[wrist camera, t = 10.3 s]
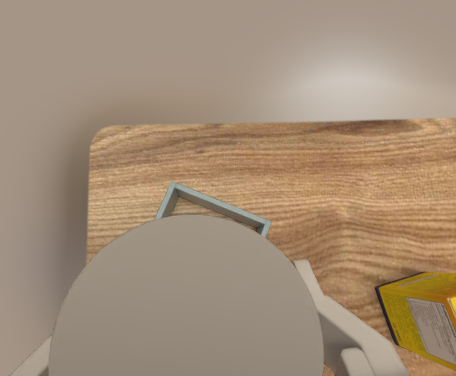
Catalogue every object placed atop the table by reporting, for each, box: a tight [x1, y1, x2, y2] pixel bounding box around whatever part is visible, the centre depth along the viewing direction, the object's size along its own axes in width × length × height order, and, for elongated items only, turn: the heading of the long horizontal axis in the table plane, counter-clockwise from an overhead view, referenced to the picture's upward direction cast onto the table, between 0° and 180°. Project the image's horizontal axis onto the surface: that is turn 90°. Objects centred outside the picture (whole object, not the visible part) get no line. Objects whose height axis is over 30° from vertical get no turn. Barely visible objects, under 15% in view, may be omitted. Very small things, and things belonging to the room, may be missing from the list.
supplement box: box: [375, 272, 456, 371], centre depth 29 cm, size 6×6×11 cm
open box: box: [154, 181, 271, 238], centre depth 32 cm, size 10×10×4 cm
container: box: [48, 214, 324, 376], centre depth 13 cm, size 5×5×15 cm
